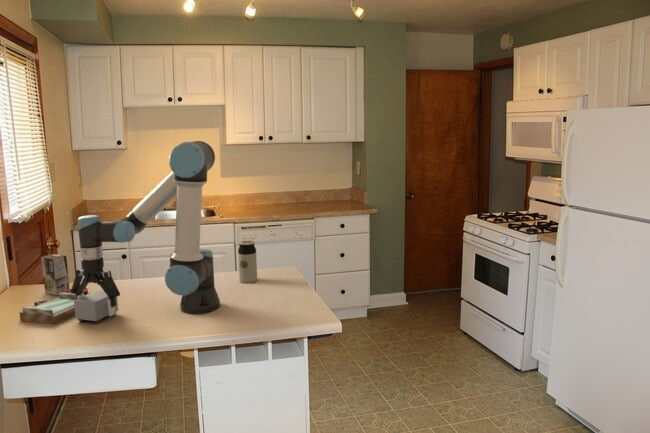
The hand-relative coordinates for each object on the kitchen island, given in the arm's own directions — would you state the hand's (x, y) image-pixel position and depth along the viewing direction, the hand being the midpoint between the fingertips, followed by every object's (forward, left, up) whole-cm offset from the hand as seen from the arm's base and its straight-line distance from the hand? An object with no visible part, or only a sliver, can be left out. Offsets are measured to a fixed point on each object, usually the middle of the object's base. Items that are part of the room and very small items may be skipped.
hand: (97, 313), depth 205 cm
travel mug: (-33, -59, -2) cm, 68 cm away
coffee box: (+40, -22, -2) cm, 46 cm away
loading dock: (+19, 0, -2) cm, 19 cm away
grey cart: (0, 0, -2) cm, 2 cm away
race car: (+27, -18, -2) cm, 33 cm away
